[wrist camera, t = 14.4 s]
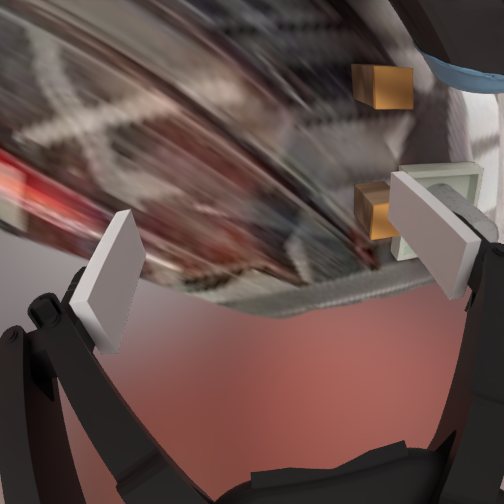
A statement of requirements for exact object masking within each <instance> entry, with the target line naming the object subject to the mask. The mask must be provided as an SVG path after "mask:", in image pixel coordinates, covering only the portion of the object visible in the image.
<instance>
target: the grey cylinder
mask: <svg viewBox="0 0 504 504" xmlns="http://www.w3.org/2000/svg"><path fill="white" fill-rule="evenodd" d="M426 190H427V191H429V192H430V193H431V194H432V195H433V196H435V197H436V198H437V199H438V200H439V201H440V202H441V203H443V204H444V205H445V206H446V207H447V208H448V209H449V210H450V211H454V212H456V213H457V214H459V215H461V216H463V217H464V218H465V219H466V220H467V221H468V222H469V224H471V225H473V226H474V228H476V229H477V230H478V231H479V232H480V233H481V234H482V235H483V236H484V237H485V238H486V239H487V240H488V241H489V242H490V243H492V242H497V243H498V238H499V231H498V227H497V225H496V224H495V222H493V221H492V220H490V219H489V218H488V217H487V216H486V215H485V214H483V213H482V212H481V211H480V210H479V209H478V208H476V207H475V206H474V205H473V204H472V203H470V202H469V201H468V200H467V199H465V198H464V197H463V196H462V195H461V194H459V193H458V192H457V191H455V190H454V189H453V188H452V187H451V186H450V185H448V184H445V183H437V184H434V185H432V186H430V187H428V188H427V189H426Z"/></svg>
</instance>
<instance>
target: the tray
mask: <svg viewBox="0 0 504 504" xmlns="http://www.w3.org/2000/svg"><path fill="white" fill-rule="evenodd" d="M483 169H484V168H482V167H481V166H479V165H477V164H476V163H474V162H454V163H430V164H412V165H399V171H404V172H406V173H407V174H408V175H409V176H411V177H412V178H413V179H414V180H415V181H417V182H418V183H419V184H420V185H422V186H423V187H424V188H425V189H427V188H428V187H430V186H432V185H434V184H437V183H445V184H448V185H450V186H451V187H452V188H453V189H454V190H455V191H457V192H458V193H459V194H461V195H462V196H463V197H464V198H465V199H467V200H468V201H469V202H470V203H472V204H473V205H474V206H475V207H476V208H477V203H478V198H479V193H480V187H481V182H482V176H483ZM391 253H392V254H393V256H394V257H395V258H396V260H397V261H400V260H406V259H411V258H416V257H418V256H417V255H416V254H415V252H414V251H413V250H412V249H411V247H410V246H409V245H408V244H407V242H406V241H405V240H404V238H403V237H402V236H394V237H392V243H391Z"/></svg>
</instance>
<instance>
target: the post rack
mask: <svg viewBox="0 0 504 504" xmlns="http://www.w3.org/2000/svg"><path fill="white" fill-rule="evenodd" d="M351 69H352V84H353V99H355V100H358V101H360V102H363V103H365V104H368V105H370V106H372V107H374V109H413V68H405V67H396V66H390V65H379V64H351ZM389 197H390V186H388V185H387V184H386V183H385V182H384V181H383V182H373V183H363V184H355V190H354V214H355V216H356V217H357V219H358V220H359V222H360V223H361V224H362V226H363V227H364V229H365V230H366V231H367V233H368V234H369V236H370V239H371V240H375V239H381V238H388V237H394V236H401V235H400V234H399V232H398V231H397V230H396V229H395V227H394V226H393V225H392V224H391V223H390V221H389V220H388V209H389Z"/></svg>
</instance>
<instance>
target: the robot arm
mask: <svg viewBox="0 0 504 504" xmlns="http://www.w3.org/2000/svg"><path fill="white" fill-rule="evenodd" d="M388 1H389V2H390V4H391V5H392V7H393V8H394V10H395V11H396V13H397V14H398V16H399V18H400V19H401V21H402V22H403V24H404V26H405V27H406V29H407V31H408V32H409V34H410V36H411V38H412V39H413V44H414V46H415V48H416V49H417V50H418V51H419V52H420V53H421V54H422V56H423V57H424V59H425V61H426V62H427V64H428V66H429V68H430V69H431V71H432V73H433V74H434V75H435V76H436V77H437V78H438V79H439V80H441V81H443V82H444V83H445V84H447V85H448V86H450V87H453V88H456V89H458V90H462V91H466V92H472V93H481V94H498V93H504V0H388ZM388 220H389V221H390V223H391V224H392V225H393V226H394V227H395V229H396V230H397V231H398V232H399V234H400V235H401V236H402V237H403V238H404V240H405V241H406V242H407V244H408V245H409V246H410V247H411V249H412V250H413V251H414V252H415V254H416V255H417V256H418V258H419V259H420V260H421V262H422V263H423V264H424V265H425V267H426V268H427V269H428V271H429V272H430V274H431V275H432V276H433V278H434V279H435V280H436V282H437V283H438V285H439V286H440V287H441V289H442V290H443V292H444V293H445V294H446V296H447V297H448V299H449V300H452V299H456V298H459V297H463V296H464V294H465V291H466V288H467V285H468V286H469V287H470V288H471V289H472V293H471V296H470V298H469V301H468V303H467V306H466V309H465V311H466V312H467V310H468V312H467V318H466V323H465V329H464V334H463V339H462V343H461V348H460V353H459V357H458V361H457V365H456V369H455V373H454V377H453V380H452V384H451V388H450V391H449V394H448V398H447V401H446V404H445V407H444V410H443V414H442V417H441V420H440V423H439V425H438V428H437V431H436V433H435V436H434V438H433V439H432V441H431V443H430V445H429V446H428V448H427V449H422V448H407V447H406V444H405V441H404V440H403V441H400V442H397V443H393V444H390V445H387V446H384V447H380V448H377V449H373V450H370V451H368V452H366V453H364V454H363V455H360V456H359V457H357V458H355V459H353V460H351V461H349V462H347V463H345V464H343V465H341V466H339V467H337V468H334V469H305V468H283V469H276V470H269V471H260V472H251V480H250V481H247V482H244V483H242V484H239V485H237V486H235V487H234V488H232V489H230V490H228V491H227V492H226V493H224V494H223V495H222V496H220V497H219V499H217V500H216V501H215V502H214V501H213V500H212V499H211V498H210V497H209V496H208V495H207V494H206V493H205V492H204V491H203V490H202V489H201V488H200V487H198V486H197V485H196V484H195V483H194V482H193V481H192V480H191V479H190V478H189V477H188V476H187V474H186V473H185V472H184V471H183V470H182V469H181V468H180V467H179V466H178V465H177V464H176V463H175V461H174V460H173V459H172V458H171V457H170V456H169V455H168V454H167V452H166V451H165V450H164V449H163V448H162V447H161V445H160V444H159V443H158V442H157V441H156V439H155V438H154V437H153V436H152V435H151V433H149V431H148V430H147V429H146V427H145V426H144V425H143V423H142V422H141V421H140V420H139V418H138V417H137V416H136V414H135V413H134V412H133V411H132V409H131V408H130V406H129V405H128V404H127V402H126V401H125V400H124V398H123V397H122V396H121V394H120V393H119V391H118V390H117V388H116V387H115V386H114V384H113V383H112V381H111V380H110V378H109V377H108V376H107V374H106V373H105V371H104V369H103V368H102V366H101V365H100V363H99V362H98V360H97V359H96V358H95V356H94V354H93V350H94V347H95V346H96V347H97V348H98V350H99V351H100V353H101V354H118V353H119V348H120V344H121V340H122V336H123V333H124V329H125V325H126V321H127V318H128V314H129V310H130V307H131V303H132V300H133V296H134V293H135V289H136V286H137V283H138V279H139V276H140V273H141V270H142V266H143V263H144V260H145V257H146V253H145V250H144V247H143V245H142V242H141V239H140V236H139V233H138V230H137V227H136V224H135V221H134V218H133V215H132V212H131V209H129V210H125V211H120V212H117V213H116V214H115V216H114V218H113V220H112V221H111V223H110V225H109V227H108V228H107V230H106V232H105V234H104V235H103V237H102V239H101V241H100V243H99V245H98V246H97V248H96V250H95V252H94V254H93V256H92V258H91V260H90V262H89V264H88V265H87V266H86V267H82V268H81V269H80V270H79V271H78V272H77V273H76V274H75V276H74V278H73V279H72V282H71V284H70V285H69V287H68V291H66V293H65V295H64V297H63V299H62V301H61V303H60V301H59V300H58V298H57V296H56V295H55V294H54V293H45V294H43V295H41V296H39V297H38V298H36V299H35V300H34V301H33V302H32V303H31V304H30V306H29V308H28V316H29V317H30V319H31V320H32V321H33V323H34V324H35V326H36V327H37V330H34V331H31V332H29V333H26V332H25V331H24V329H23V328H22V327H21V326H18V325H16V326H12V327H10V328H9V329H7V330H6V331H5V332H4V333H3V335H2V336H1V338H0V475H1V482H2V488H3V495H4V500H5V504H86V501H85V498H84V495H83V492H82V489H81V486H80V482H79V479H78V476H77V472H76V469H75V465H74V461H73V458H72V454H71V450H70V445H69V441H68V437H67V432H66V428H65V423H64V417H63V412H62V407H61V401H60V395H59V388H58V381H57V377H58V379H59V381H60V383H61V385H62V387H63V389H64V391H65V393H66V395H67V397H68V400H69V401H70V403H71V406H72V407H73V409H74V411H75V413H76V415H77V417H78V419H79V421H80V422H81V424H82V426H83V428H84V430H85V431H86V433H87V435H88V437H89V438H90V440H91V442H92V444H93V445H94V447H95V449H96V450H97V451H98V453H99V455H100V456H101V458H102V460H103V461H104V463H105V464H106V466H107V467H108V469H109V471H110V472H111V474H112V475H113V476H114V478H115V480H116V482H117V485H116V489H117V492H118V493H119V495H120V496H121V498H122V499H123V501H124V502H125V503H126V504H504V491H503V490H502V489H500V486H501V483H502V479H503V476H504V244H501V243H497V242H492V243H490V242H489V241H488V240H487V239H486V238H485V237H484V236H483V235H482V234H481V233H480V232H479V231H478V230H477V229H476V228H474V226H473V225H471V224H469V222H468V221H467V220H466V219H465V218H464V217H463V216H461V215H459V214H457V213H456V212H454V211H450V210H449V209H448V208H447V207H446V206H445V205H444V204H443V203H441V202H440V201H439V200H438V199H437V198H436V197H435V196H433V195H432V194H431V193H430V192H429V191H427V190H426V189H425V188H424V187H423V186H422V185H420V184H419V183H418V182H417V181H415V180H414V179H413V178H412V177H411V176H409V175H408V174H407V173H406V172H404V171H399V172H391V182H390V197H389V209H388Z"/></svg>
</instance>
